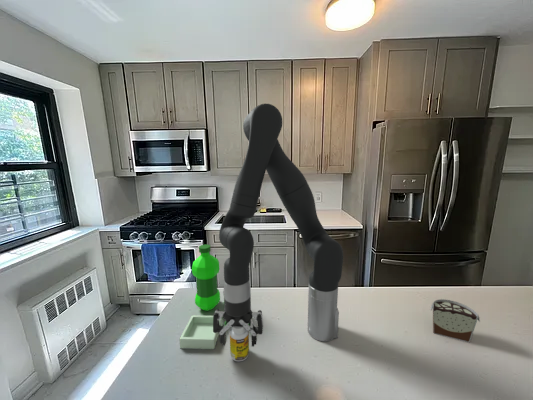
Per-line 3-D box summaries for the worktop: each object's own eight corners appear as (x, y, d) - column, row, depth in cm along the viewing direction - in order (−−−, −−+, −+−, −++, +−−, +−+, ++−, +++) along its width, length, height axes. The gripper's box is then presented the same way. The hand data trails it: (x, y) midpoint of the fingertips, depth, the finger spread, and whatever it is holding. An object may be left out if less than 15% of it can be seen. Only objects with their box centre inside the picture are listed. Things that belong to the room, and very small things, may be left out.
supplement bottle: (235, 366, 64) (234, 334, 62) (227, 352, 68) (226, 322, 67) (252, 356, 67) (252, 325, 65) (243, 344, 71) (242, 314, 70)
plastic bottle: (211, 295, 97) (207, 239, 93) (226, 305, 90) (224, 246, 86) (189, 307, 90) (185, 246, 85) (205, 319, 83) (200, 254, 78)
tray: (222, 324, 80) (221, 315, 79) (214, 349, 70) (213, 339, 69) (192, 323, 80) (191, 315, 80) (180, 348, 70) (179, 338, 69)
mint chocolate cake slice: (468, 330, 76) (472, 303, 74) (475, 344, 70) (480, 315, 69) (424, 320, 81) (427, 294, 79) (427, 332, 75) (431, 305, 74)
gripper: (263, 287, 68) (263, 335, 71) (215, 286, 68) (218, 333, 71) (261, 302, 60) (261, 355, 63) (208, 301, 61) (211, 353, 64)
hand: (238, 343), depth 67 cm, fingers open, 8 cm apart
